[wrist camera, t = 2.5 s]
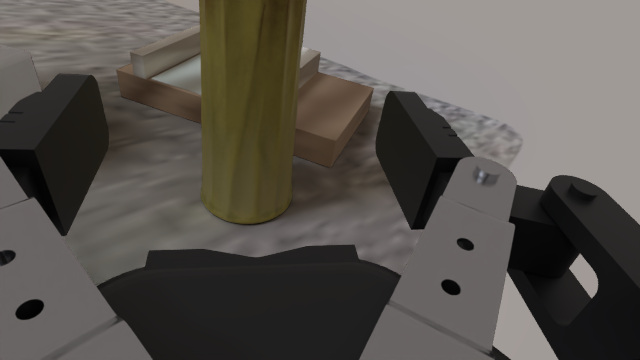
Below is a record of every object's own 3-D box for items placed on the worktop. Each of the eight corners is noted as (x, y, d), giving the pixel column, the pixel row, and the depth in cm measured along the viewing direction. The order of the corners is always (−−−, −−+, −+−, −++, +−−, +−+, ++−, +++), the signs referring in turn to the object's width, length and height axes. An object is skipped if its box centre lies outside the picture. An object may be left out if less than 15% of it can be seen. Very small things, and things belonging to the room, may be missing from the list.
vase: (245, 241, 24) (252, -15, 15) (181, 192, 26) (156, -50, 18) (309, 196, 28) (344, -26, 19) (248, 157, 31) (254, -53, 22)
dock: (121, 96, 35) (112, 46, 32) (195, 59, 44) (193, 16, 41) (330, 167, 31) (340, 117, 28) (368, 111, 39) (378, 68, 37)
